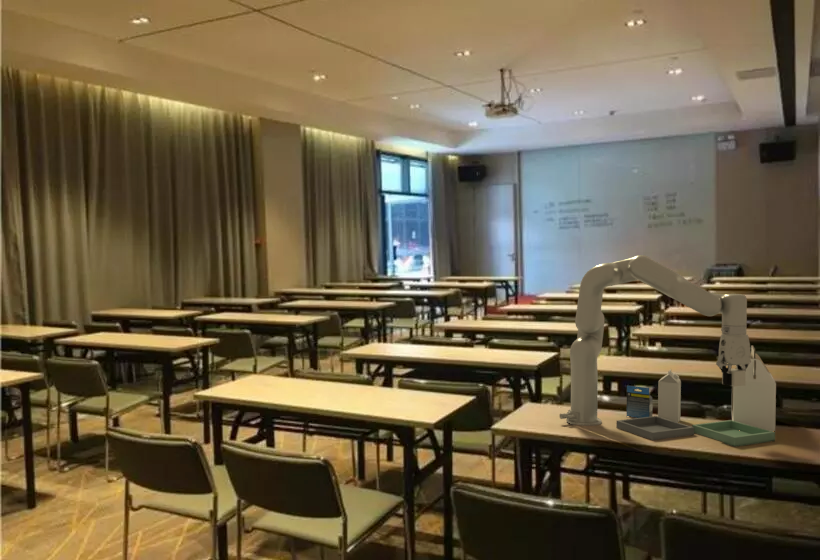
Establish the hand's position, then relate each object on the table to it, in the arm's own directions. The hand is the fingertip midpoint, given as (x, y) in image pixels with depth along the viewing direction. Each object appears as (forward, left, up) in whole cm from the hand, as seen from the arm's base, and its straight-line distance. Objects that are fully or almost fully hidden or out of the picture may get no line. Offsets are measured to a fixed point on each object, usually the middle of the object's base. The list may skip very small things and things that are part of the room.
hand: (733, 383), depth 228 cm
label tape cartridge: (-10, +34, -19) cm, 40 cm away
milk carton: (-3, +26, -19) cm, 32 cm away
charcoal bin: (-20, +15, -18) cm, 31 cm away
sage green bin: (0, 0, -18) cm, 18 cm away
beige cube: (0, 0, 0) cm, 0 cm away
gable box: (+22, +11, -19) cm, 31 cm away
